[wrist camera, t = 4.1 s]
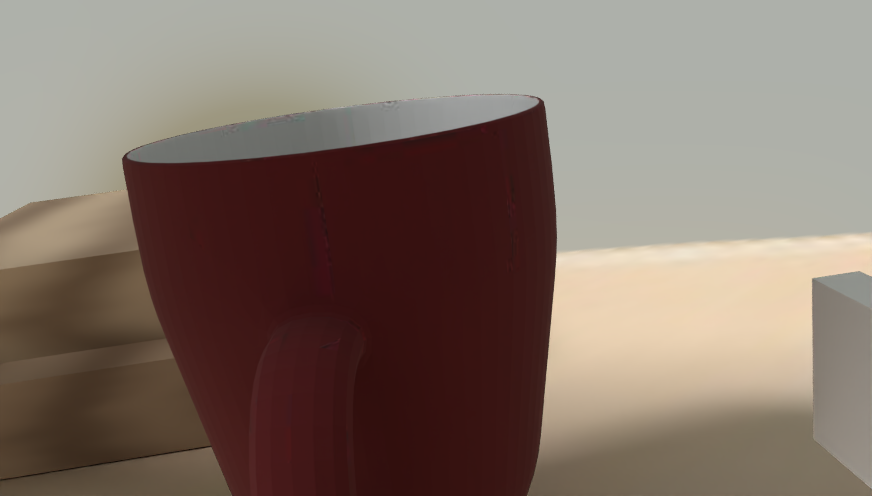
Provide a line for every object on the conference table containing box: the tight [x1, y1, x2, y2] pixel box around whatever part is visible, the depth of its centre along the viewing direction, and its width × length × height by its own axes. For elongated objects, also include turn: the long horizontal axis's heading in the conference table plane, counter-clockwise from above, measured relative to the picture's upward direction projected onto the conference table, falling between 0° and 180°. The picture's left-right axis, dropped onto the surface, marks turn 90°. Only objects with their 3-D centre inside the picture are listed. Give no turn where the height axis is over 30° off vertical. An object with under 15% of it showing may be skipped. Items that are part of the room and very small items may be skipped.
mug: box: [122, 94, 557, 496], centre depth 16 cm, size 10×8×10 cm
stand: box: [0, 190, 211, 480], centre depth 33 cm, size 18×18×6 cm
